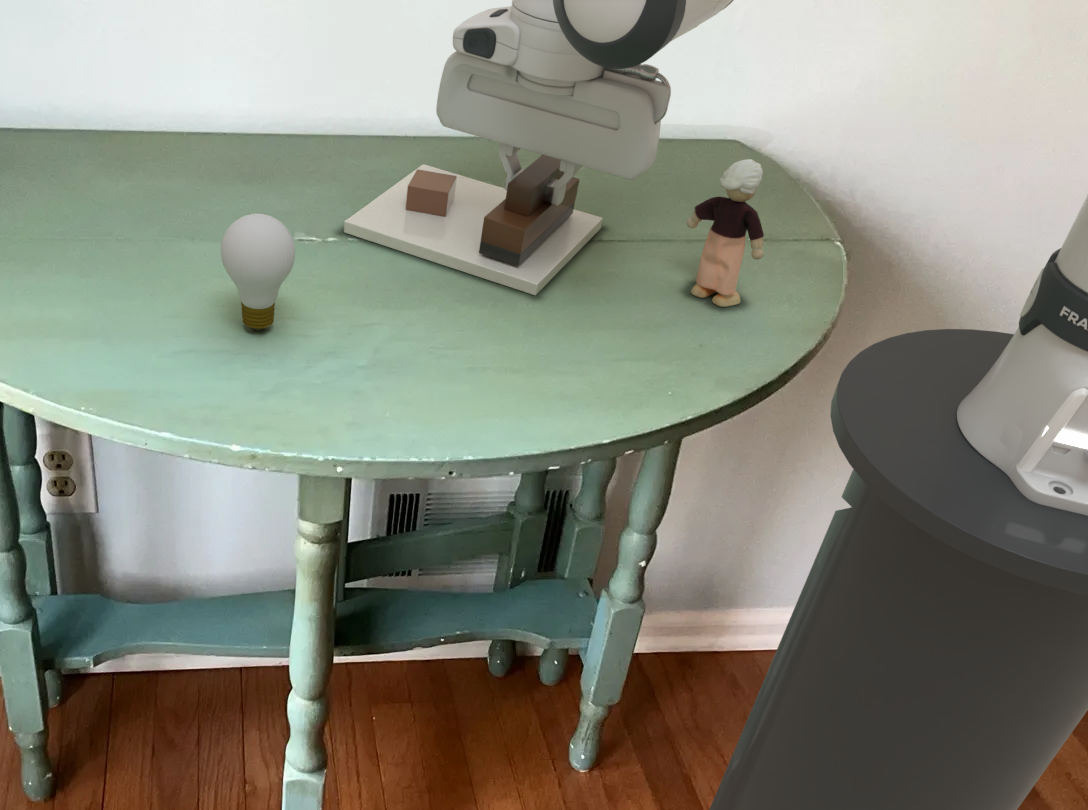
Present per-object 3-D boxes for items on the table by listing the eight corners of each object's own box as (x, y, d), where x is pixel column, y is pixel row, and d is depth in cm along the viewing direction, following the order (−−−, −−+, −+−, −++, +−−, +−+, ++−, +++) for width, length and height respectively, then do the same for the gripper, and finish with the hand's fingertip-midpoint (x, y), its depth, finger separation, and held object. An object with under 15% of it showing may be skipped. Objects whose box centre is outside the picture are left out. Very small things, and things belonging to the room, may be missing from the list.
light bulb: (304, 320, 101) (308, 211, 94) (274, 354, 96) (276, 242, 90) (242, 304, 102) (241, 194, 95) (209, 336, 98) (206, 224, 91)
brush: (535, 201, 117) (546, 142, 113) (572, 213, 116) (585, 153, 112) (478, 253, 108) (487, 190, 104) (518, 266, 107) (529, 203, 103)
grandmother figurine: (756, 299, 108) (798, 166, 100) (742, 316, 106) (784, 181, 97) (678, 272, 111) (712, 140, 103) (662, 288, 109) (696, 154, 100)
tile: (600, 228, 117) (603, 217, 116) (535, 296, 106) (537, 284, 105) (421, 174, 124) (423, 163, 123) (343, 232, 113) (344, 221, 112)
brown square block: (454, 199, 117) (456, 175, 115) (445, 217, 114) (448, 192, 112) (414, 192, 118) (416, 168, 116) (405, 210, 115) (407, 185, 113)
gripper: (688, 61, 99) (651, 214, 108) (469, 7, 106) (452, 156, 115) (663, 83, 95) (627, 241, 104) (436, 25, 102) (421, 178, 111)
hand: (533, 196), depth 110 cm, fingers closed on brush, 2 cm apart
